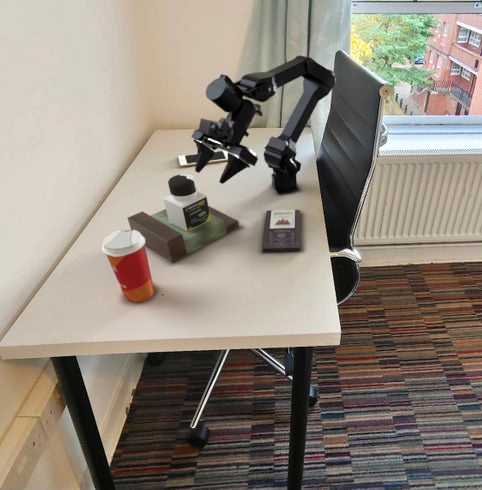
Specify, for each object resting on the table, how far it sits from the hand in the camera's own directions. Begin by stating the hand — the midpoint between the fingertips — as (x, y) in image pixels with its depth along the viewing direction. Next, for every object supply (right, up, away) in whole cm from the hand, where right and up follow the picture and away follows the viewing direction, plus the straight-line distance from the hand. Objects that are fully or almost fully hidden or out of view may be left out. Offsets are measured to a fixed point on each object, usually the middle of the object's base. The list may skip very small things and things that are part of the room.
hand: (208, 177), depth 108 cm
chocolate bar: (+17, -13, +6) cm, 23 cm away
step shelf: (-7, -14, +4) cm, 15 cm away
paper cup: (-9, -27, -16) cm, 33 cm away
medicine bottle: (-5, -11, +1) cm, 12 cm away
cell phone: (-14, +12, +40) cm, 44 cm away
